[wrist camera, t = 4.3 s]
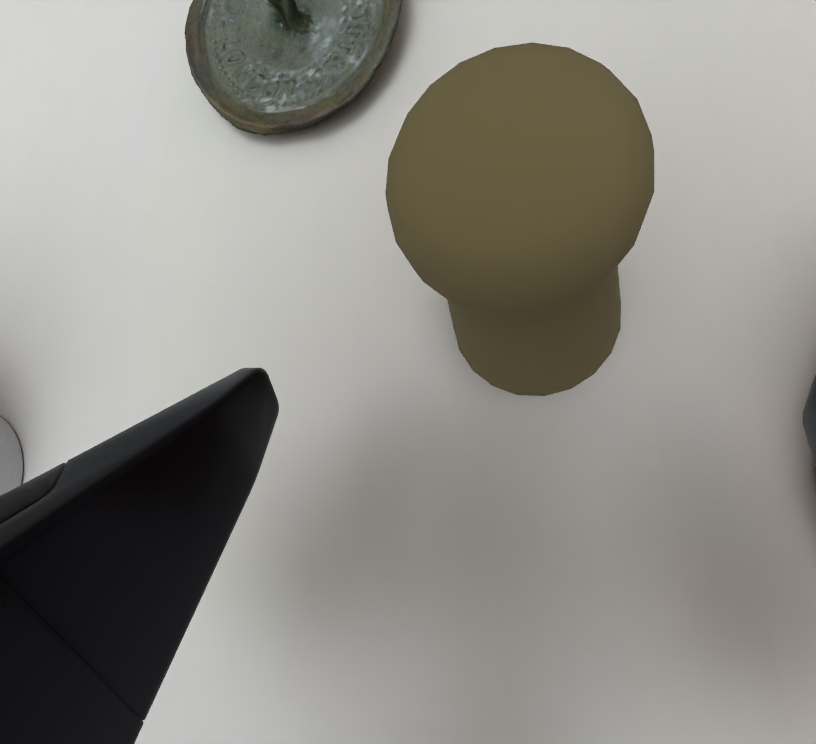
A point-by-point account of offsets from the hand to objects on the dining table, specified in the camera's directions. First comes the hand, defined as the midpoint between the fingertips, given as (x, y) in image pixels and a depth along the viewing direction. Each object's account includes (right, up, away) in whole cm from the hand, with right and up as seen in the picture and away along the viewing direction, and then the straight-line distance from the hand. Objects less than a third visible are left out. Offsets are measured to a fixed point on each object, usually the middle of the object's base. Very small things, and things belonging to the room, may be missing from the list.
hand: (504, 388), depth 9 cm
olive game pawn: (+3, +2, +11) cm, 11 cm away
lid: (-6, +16, +16) cm, 23 cm away
